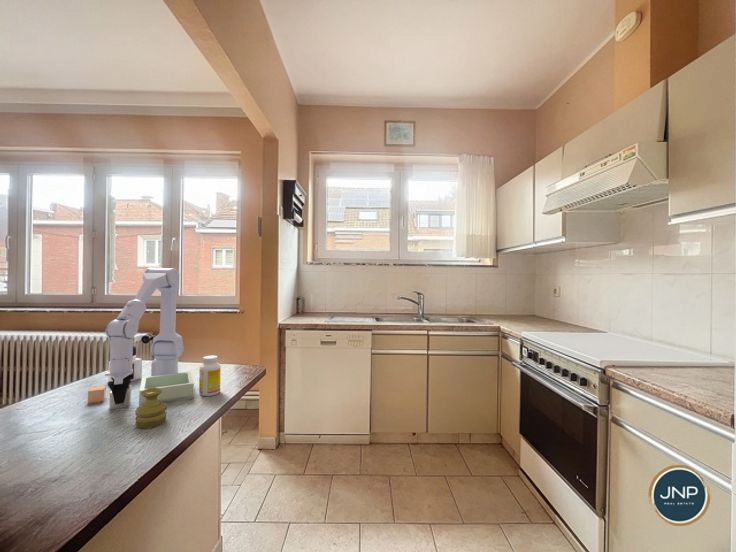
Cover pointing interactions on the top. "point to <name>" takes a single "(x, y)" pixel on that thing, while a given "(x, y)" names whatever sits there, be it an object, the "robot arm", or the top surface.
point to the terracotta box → (96, 394)
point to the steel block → (126, 401)
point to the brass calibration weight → (151, 410)
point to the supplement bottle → (209, 376)
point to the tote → (169, 387)
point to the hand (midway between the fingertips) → (120, 400)
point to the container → (133, 367)
